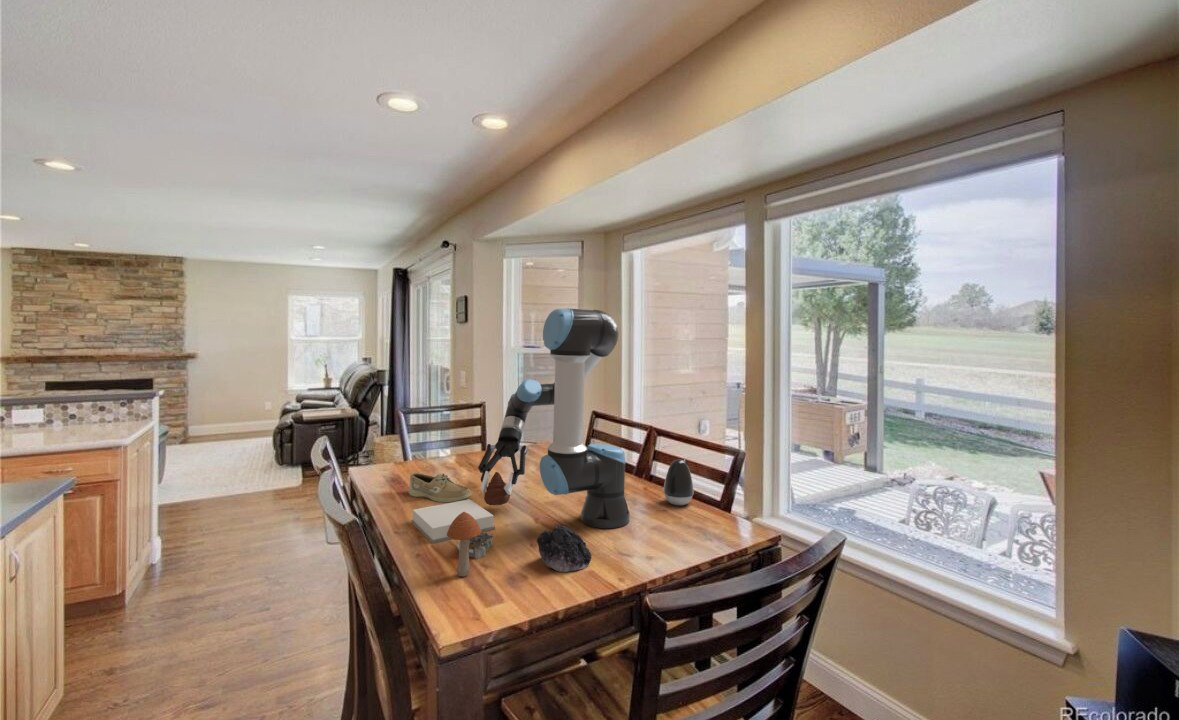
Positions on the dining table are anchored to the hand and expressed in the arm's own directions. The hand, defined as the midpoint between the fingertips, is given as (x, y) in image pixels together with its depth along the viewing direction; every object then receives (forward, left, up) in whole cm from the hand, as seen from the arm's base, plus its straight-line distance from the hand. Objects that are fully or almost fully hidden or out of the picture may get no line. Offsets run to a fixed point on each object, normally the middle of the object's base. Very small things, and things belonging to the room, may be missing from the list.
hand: (495, 491), depth 161 cm
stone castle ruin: (-22, +16, -8) cm, 28 cm away
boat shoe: (+27, +9, -8) cm, 30 cm away
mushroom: (-33, +24, -8) cm, 41 cm away
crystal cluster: (-40, 0, -8) cm, 41 cm away
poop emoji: (+2, -2, -4) cm, 5 cm away
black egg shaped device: (-24, -57, -8) cm, 63 cm away
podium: (-2, +15, -7) cm, 16 cm away
